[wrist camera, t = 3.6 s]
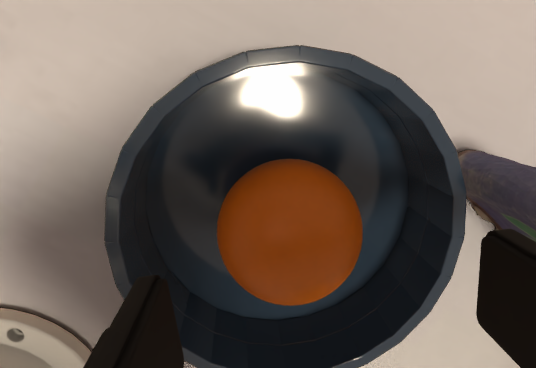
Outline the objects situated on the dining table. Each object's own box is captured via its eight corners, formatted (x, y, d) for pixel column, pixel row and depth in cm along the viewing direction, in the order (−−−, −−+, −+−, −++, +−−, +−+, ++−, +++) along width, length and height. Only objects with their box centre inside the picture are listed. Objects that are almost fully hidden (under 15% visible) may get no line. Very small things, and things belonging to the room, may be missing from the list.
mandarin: (229, 267, 19) (225, 351, 13) (211, 155, 18) (197, 192, 12) (342, 252, 20) (388, 326, 14) (335, 140, 18) (386, 168, 12)
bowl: (168, 335, 21) (147, 408, 16) (109, 75, 17) (58, 71, 12) (411, 299, 22) (459, 359, 17) (411, 41, 18) (475, 25, 13)
